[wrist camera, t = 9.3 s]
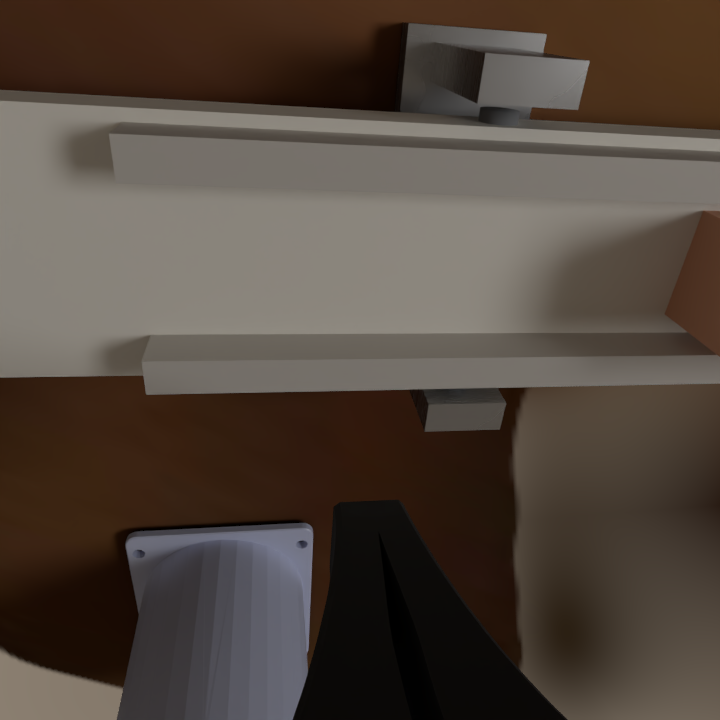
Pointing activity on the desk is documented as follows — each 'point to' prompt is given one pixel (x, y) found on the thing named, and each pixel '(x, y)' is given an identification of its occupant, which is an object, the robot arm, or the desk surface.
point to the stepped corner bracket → (464, 98)
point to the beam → (343, 246)
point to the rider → (700, 285)
